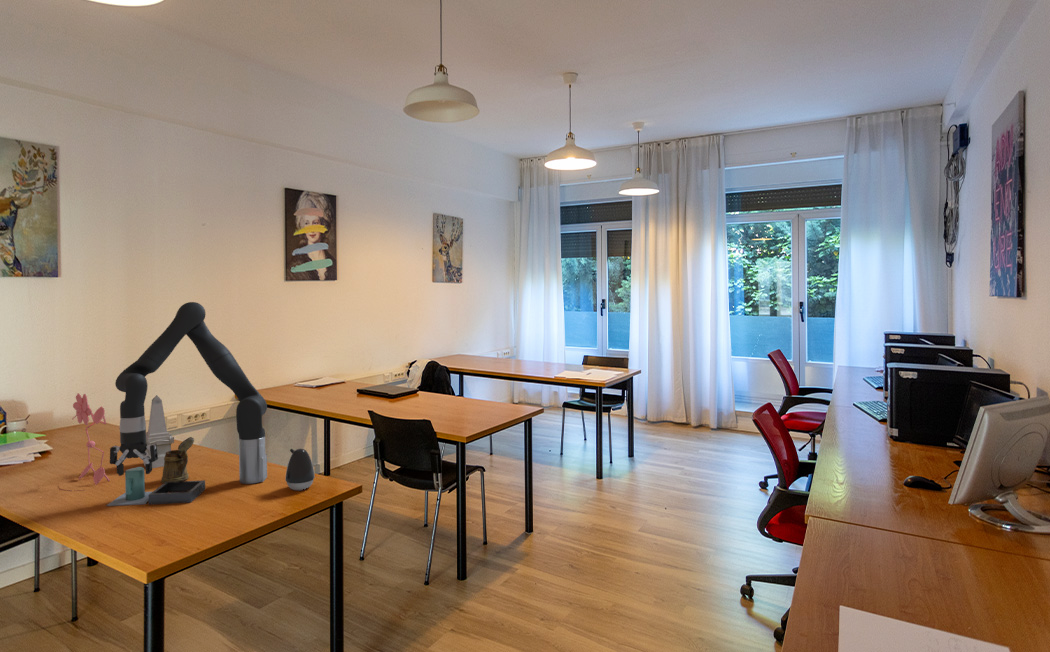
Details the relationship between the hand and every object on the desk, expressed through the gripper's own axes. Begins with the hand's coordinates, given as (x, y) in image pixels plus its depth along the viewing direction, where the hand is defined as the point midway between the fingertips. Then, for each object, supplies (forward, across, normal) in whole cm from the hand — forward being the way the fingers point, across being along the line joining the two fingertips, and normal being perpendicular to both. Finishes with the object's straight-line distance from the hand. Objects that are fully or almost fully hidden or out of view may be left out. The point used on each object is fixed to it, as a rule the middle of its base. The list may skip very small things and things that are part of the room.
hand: (134, 474), depth 198 cm
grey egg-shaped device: (+10, -55, -3) cm, 56 cm away
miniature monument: (+9, +10, -44) cm, 46 cm away
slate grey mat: (+9, 0, 0) cm, 9 cm away
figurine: (+9, +27, -22) cm, 36 cm away
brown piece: (+9, -7, -19) cm, 23 cm away
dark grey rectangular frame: (+9, -14, 0) cm, 16 cm away
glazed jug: (+9, 0, -1) cm, 9 cm away
